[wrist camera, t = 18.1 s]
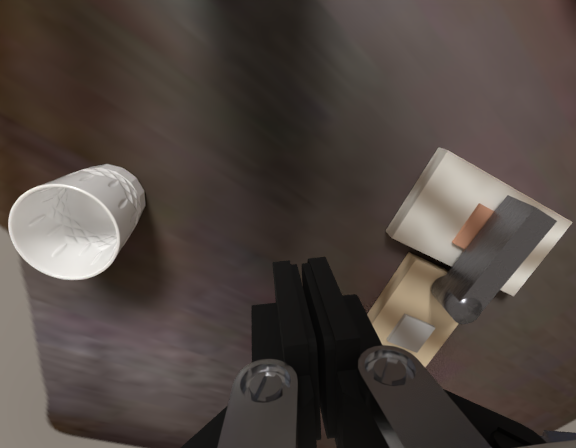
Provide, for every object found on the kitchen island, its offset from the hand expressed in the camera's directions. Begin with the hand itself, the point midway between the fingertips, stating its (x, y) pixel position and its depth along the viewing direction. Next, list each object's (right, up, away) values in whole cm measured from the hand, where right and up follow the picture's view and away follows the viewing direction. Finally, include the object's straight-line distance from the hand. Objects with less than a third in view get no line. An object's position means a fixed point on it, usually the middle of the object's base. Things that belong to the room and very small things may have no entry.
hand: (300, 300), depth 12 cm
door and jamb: (+17, -4, +33) cm, 37 cm away
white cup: (-18, +5, +26) cm, 32 cm away
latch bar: (+20, -1, +29) cm, 35 cm away
